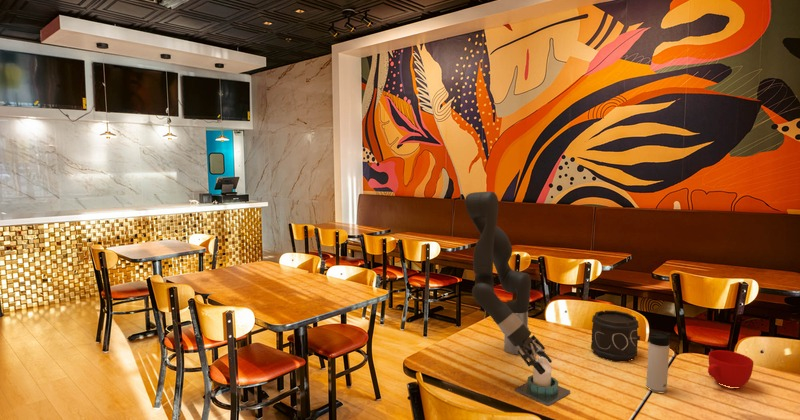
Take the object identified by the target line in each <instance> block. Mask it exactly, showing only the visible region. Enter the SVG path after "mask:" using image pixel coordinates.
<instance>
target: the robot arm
mask: <svg viewBox="0 0 800 420" xmlns="http://www.w3.org/2000/svg"><path fill="white" fill-rule="evenodd" d="M499 204H500V203H499V199H498V196H497V194H496V193H495V192H494V191H479V192H477V191H476V192H471V193H468V194H467V195H466V196H465V198H464V205H465V209H466V212H467V214H468V216H469V218H470V220H471V221H472V223H473V225H474V226H475V228H476V229H477V231H478V233H479V235H480V236H479V238H478V240H477V242H476V244H475V245H474V248H473V249H474V250H473V254H472V255H473V257H472V258H473V259H472V261H473V262H472V263H473V267H472V268H473V273H474V286H472V289H471V294H472V297H473V299H474V301H476V303H477V304H478V305H479V306H480V307H481V308H482V309H483V310H485V312H486V313H487V314H488V315H489V317H490V318H491V319H492V320H493V322H494V323H495V325H497V327H498V328H499V329H500V331H501V332H502V333H503V335H504V339H503V340H504V341H503V344H504V345H503V346H504V347H503V349H504V352H506V353H509V354H510V355H512V354H513V355H519V356H520V357H521V359H522V360H523V361H524V363H525V364H526V365H527V366H528V367H534V368H535V369H536V370H537V371H538V372H539V374H543V373H544V372H545V369H544V368H543V367H542V365H541V364H540V363H539V362H538V361H537V360H538V359H537V356H539V357H544V358H546V359H547V360H548V361H549V362H550V364H552V359H551V358H550V357H549V355H548V354H546V351H545V349H546V347H545V346H544V345H543V343H541V341H540V340H539V339H538V338H537V337H536V336H535V335H534V334H533V335H532V336H531V334H532V331H531V330H530V329H529V326H528V324H529V305H530V300H531V299H530V298H531V289H532V288H531V287H532V280H531V276H530V274H529V273H527V272H522V271H518V270H513V269H512V268H511V266H510V264H509V262H510V260H511V257H512V255H513V247H512V243H511V242H510V239H509V237H508V235H507V234H506V233H505V231H504V230H503V229H501V228H500V227H499V226H497V224H498V215H499ZM494 267H495V268H494ZM494 269H495V271H496V274H497V276H498V279H499V282H500V283H499V284H500V286H501V288H502V289H503V290H504V292H506V293H510V294H514V295H516V298H515V299H512V300H507V301H506V302H504V301H503V300H501V298H499V296H498V295H497V294H496V292H495V282H494V273H493V272H494Z"/></svg>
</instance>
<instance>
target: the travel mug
mask: <svg viewBox="0 0 800 420" xmlns="http://www.w3.org/2000/svg"><path fill="white" fill-rule="evenodd" d="M671 338H672V335H671V334H670V333H669V332H663V331H655V332H651V333H649V336H648V351H647V366H646V367H647V368H646V382H645V383H646V384H645V385H646V386H647V387H648V388H650V389H651V391H652V392H651V391H650V392H651V393H654V392H665V391H666V392H667V391H668V390H667V388H668V377H669V376H668V375H669V374H668V373H669V360H670V357H669V356H670V341H671V340H670V339H671ZM646 386H645V387H646ZM666 392H665V393H666Z"/></svg>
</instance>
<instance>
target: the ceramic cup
mask: <svg viewBox="0 0 800 420" xmlns="http://www.w3.org/2000/svg"><path fill="white" fill-rule="evenodd" d="M753 368H754V360H753V359H752V358H750V357H749V356H747V355H744V354H742V353H739V352H735V351H731V350H720V349H719V350H715V349H714V350H711V351H709V352H708V368H707V372H708V375H709V376H710V377H711V378H713V379H714V380H715V382H718V383H720V384H723V385H726V386H730V387H740V388H742V387H744V386H745V385H746V384H747V383H749V381H750V379H751V376H752V373H753V370H754V369H753ZM718 383H717V384H718Z"/></svg>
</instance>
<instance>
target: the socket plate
mask: <svg viewBox="0 0 800 420" xmlns="http://www.w3.org/2000/svg"><path fill="white" fill-rule="evenodd" d="M526 381H527V382H525V383H523V384H521V385H519V386H517V387H515V388H514V392H516V393H519V394H521V395H523V396H525V397H527V398H529V399H532V400H534V401H535V402H539V403H541V404H542V405H545V406H547V407H549V406H551V405H553V404H554V403H556V402H557V401H559V400H561V399H563V398H564V397H567V396H568V395H570V394H571V390H570V389H567V388H566V387H562V386H561V385H559V380H557V379H556V378H555V377H553V376H551V386H549V387H543V386H538V385H536V384H533V374H531V375H530V376H528V377H527V380H526ZM566 395H567V396H566Z"/></svg>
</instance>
